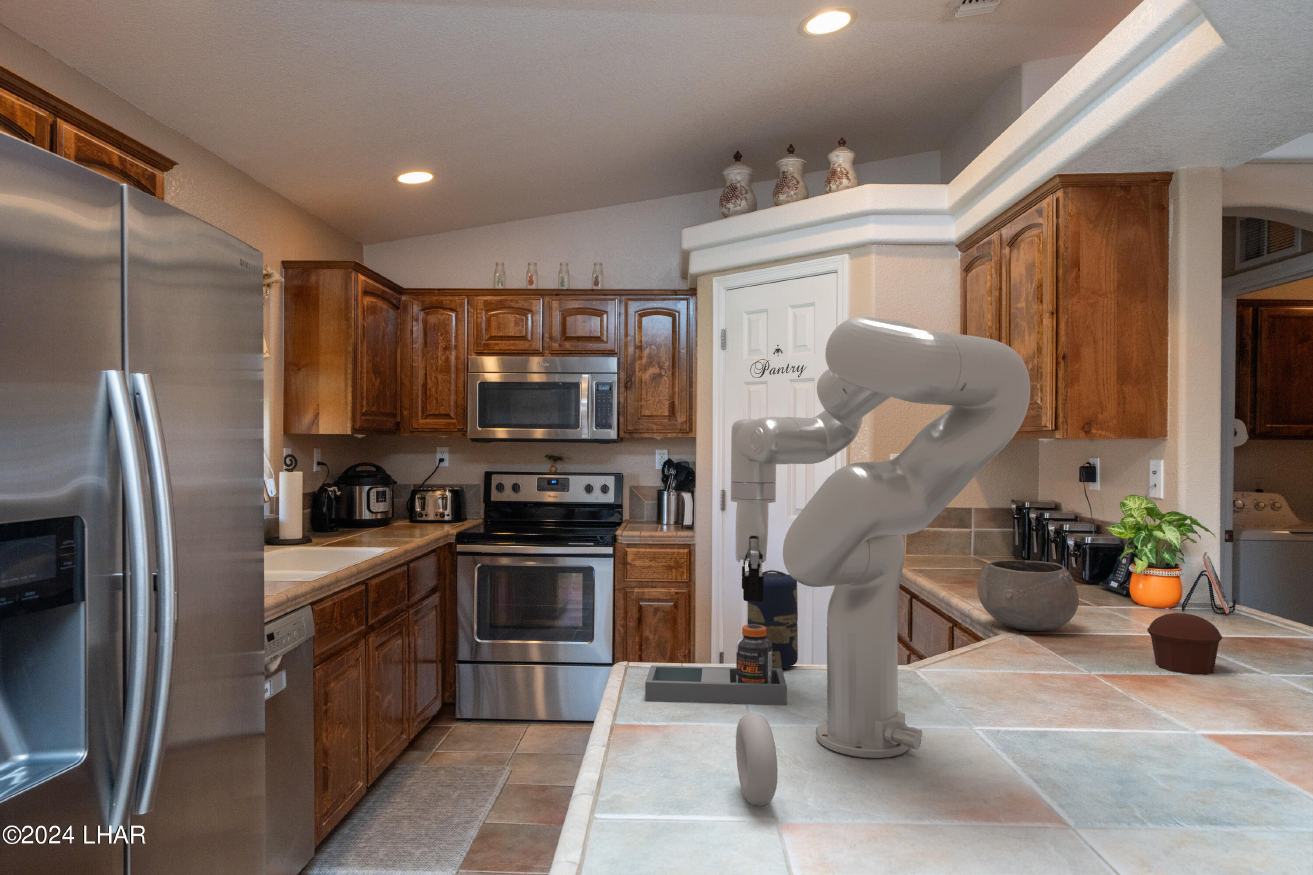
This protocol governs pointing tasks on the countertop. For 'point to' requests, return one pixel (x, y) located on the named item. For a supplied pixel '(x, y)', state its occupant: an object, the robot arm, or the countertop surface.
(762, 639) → the pill bottle
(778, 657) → the canister
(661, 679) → the frame
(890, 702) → the robot arm
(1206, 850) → the countertop surface
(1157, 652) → the muffin
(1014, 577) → the clay pot
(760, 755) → the donut
